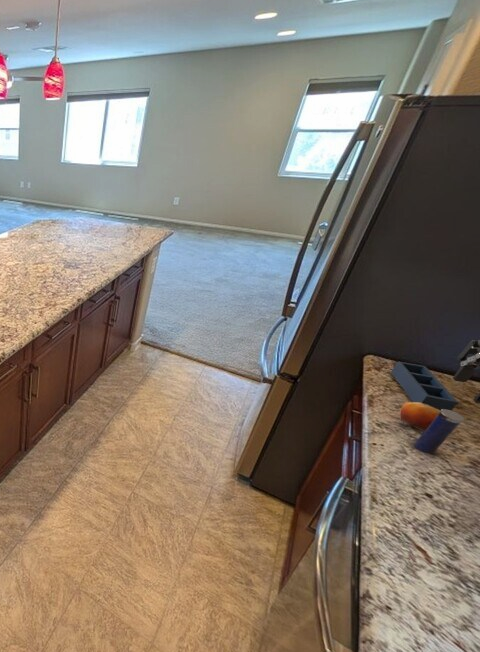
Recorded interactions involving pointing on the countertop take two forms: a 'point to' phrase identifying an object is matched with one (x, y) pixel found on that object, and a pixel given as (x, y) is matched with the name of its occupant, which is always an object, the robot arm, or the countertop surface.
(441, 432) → the thermos
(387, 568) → the countertop surface
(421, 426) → the fruit
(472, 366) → the robot arm
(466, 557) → the countertop surface
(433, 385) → the rack
